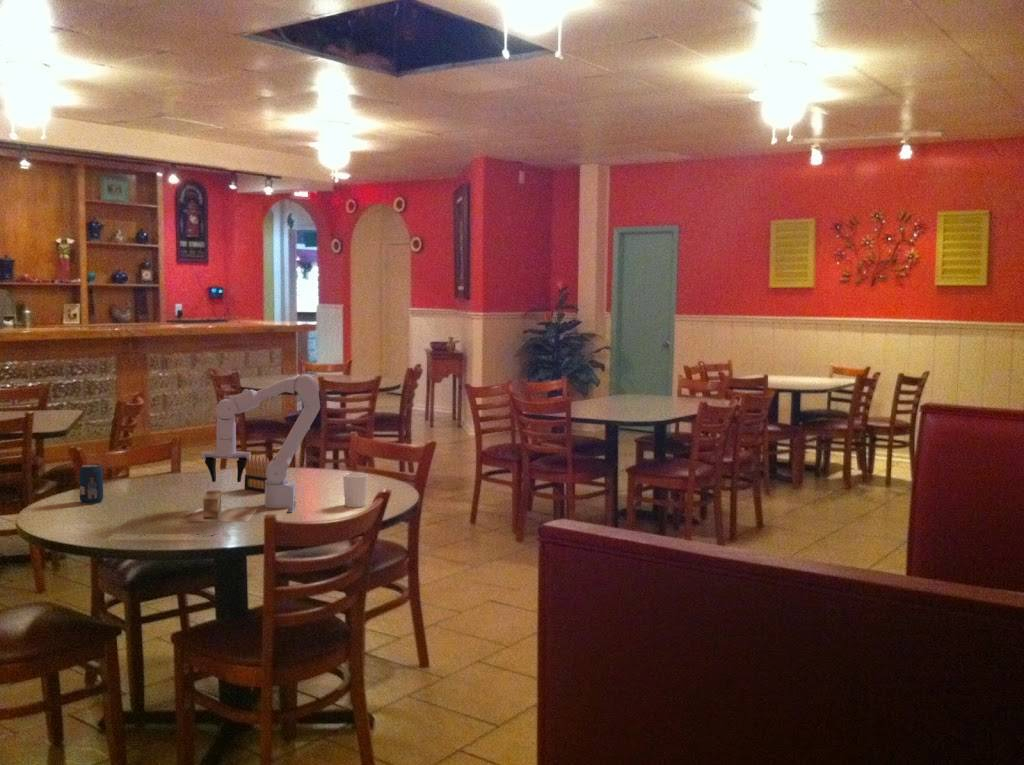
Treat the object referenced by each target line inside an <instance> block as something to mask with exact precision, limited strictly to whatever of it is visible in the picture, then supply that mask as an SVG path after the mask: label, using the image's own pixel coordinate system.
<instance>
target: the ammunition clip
mask: <svg viewBox="0 0 1024 765" xmlns="http://www.w3.org/2000/svg"><path fill="white" fill-rule="evenodd" d="M269 462H270V460H269V458H268V457H266V459H265V457H264V456H263V457H262V458H261V456H258V457H257V456H256V455H255V456H253V455H251V458H250V459H248V460H247V462H246V464H245V475H244V490H247V491H252V492H259V493H264V494H265V480H266V479H267V477H266V470H267V465H268V463H269Z"/></svg>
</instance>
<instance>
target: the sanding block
mask: <svg viewBox="0 0 1024 765" xmlns="http://www.w3.org/2000/svg"><path fill="white" fill-rule="evenodd" d="M202 502H203V509H204V519H218V517H219V514H220V511H221V509H222V491H221V490H206V493H205V495H204V497H203V500H202Z"/></svg>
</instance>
